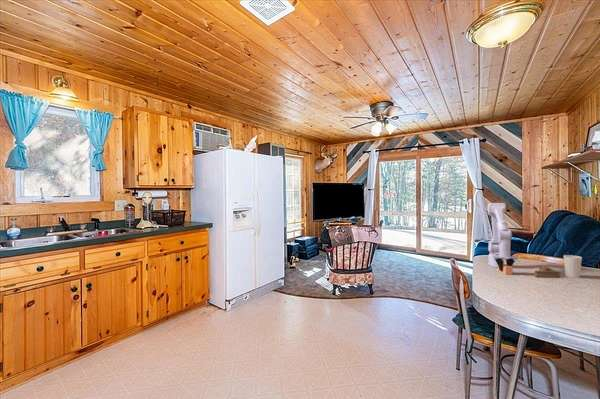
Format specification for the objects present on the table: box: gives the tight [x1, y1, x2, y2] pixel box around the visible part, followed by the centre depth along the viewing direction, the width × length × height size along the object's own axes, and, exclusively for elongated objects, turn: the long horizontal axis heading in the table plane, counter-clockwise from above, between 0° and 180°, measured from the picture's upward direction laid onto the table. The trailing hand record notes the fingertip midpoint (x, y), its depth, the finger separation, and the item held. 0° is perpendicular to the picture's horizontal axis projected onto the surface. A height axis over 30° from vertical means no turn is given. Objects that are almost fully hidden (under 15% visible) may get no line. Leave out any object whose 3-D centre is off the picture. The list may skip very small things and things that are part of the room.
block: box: [496, 263, 513, 276], centre depth 177 cm, size 8×4×5 cm, turn 176°
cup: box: [563, 254, 583, 279], centre depth 168 cm, size 8×8×12 cm
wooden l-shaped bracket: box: [534, 265, 561, 279], centre depth 173 cm, size 14×13×4 cm
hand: (504, 270), depth 177 cm, fingers closed on block, 4 cm apart
